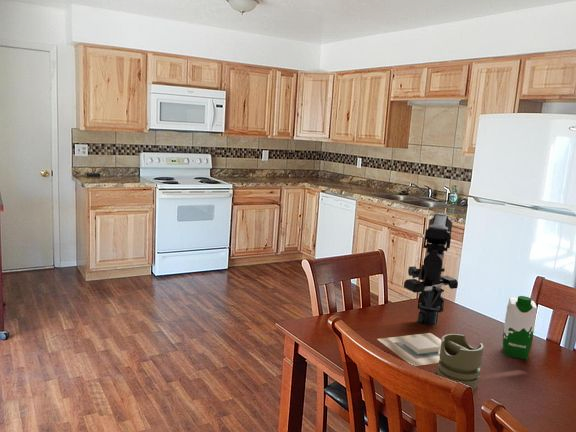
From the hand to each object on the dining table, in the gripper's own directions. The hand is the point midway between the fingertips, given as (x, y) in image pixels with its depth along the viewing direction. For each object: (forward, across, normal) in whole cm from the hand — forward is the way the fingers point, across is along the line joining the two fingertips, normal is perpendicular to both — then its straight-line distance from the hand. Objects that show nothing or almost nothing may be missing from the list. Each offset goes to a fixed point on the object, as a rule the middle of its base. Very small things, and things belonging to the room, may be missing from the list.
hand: (428, 307), depth 171 cm
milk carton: (+12, -24, +17) cm, 32 cm away
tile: (+9, +4, +7) cm, 12 cm away
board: (+12, +7, +7) cm, 15 cm away
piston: (+12, +10, +26) cm, 30 cm away
